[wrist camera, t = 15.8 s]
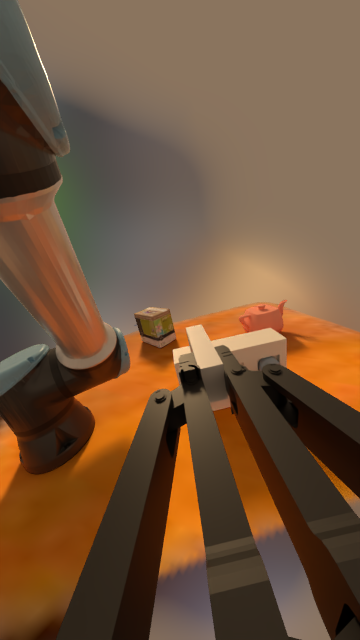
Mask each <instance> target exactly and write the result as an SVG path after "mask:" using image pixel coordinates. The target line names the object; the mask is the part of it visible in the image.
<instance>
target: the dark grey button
mask: <svg viewBox="0 0 360 640" xmlns="http://www.w3.org/2000/svg"><path fill="white" fill-rule="evenodd" d="M267 364H280V363H279V362H278V361H277V360H276V359H275V358H274V357H272V356H270V357H266V358H262V359H261V360H260V361H259V362H258V370H259V371H262V368H263V366H265V365H267ZM280 365H281V364H280Z"/></svg>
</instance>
